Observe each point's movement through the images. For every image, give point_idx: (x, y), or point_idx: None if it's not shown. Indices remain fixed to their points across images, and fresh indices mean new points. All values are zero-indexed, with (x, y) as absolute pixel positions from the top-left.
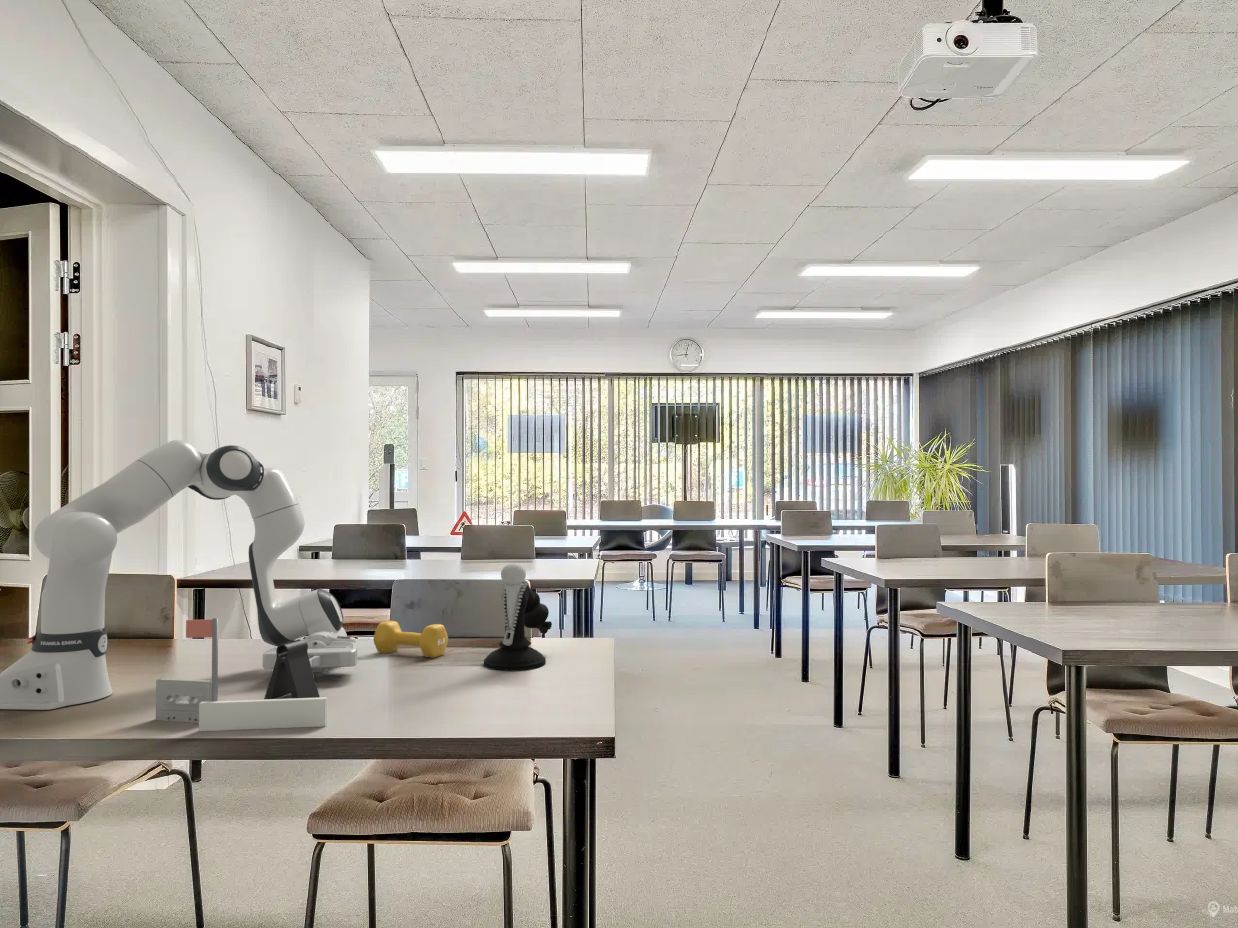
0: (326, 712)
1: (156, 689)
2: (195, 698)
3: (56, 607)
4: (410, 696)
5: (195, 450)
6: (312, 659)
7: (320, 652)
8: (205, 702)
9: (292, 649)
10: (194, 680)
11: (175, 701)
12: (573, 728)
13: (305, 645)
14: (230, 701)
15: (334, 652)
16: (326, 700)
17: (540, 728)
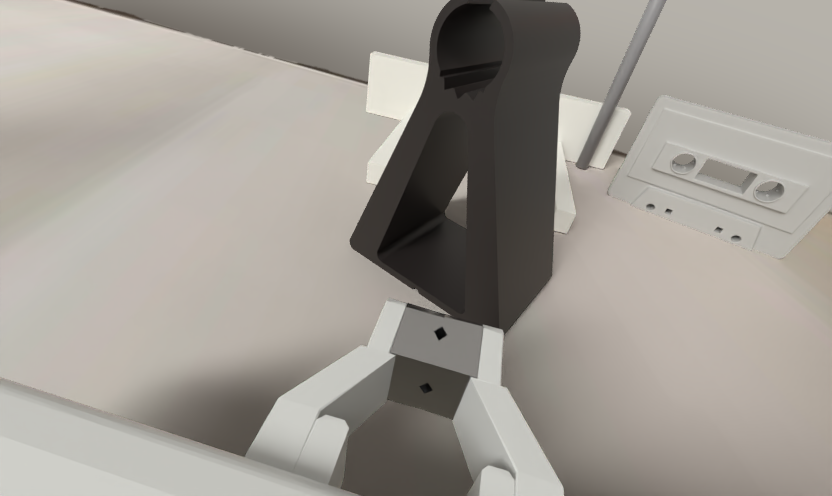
0: (369, 85)
1: None
2: (693, 165)
3: None
4: (59, 151)
5: None
6: (363, 347)
7: (226, 459)
8: (618, 108)
9: (500, 25)
10: (724, 113)
11: (742, 183)
12: (33, 4)
13: (445, 26)
14: (566, 96)
15: (44, 392)
16: (371, 59)
17: (71, 15)
